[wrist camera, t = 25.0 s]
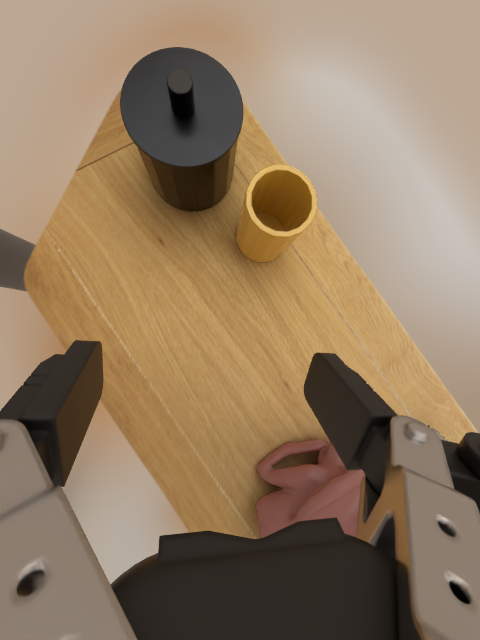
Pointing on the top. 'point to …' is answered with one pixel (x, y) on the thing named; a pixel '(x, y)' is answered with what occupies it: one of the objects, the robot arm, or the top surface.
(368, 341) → the top surface
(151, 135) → the pot lid
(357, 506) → the figurine
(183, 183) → the pot
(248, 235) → the cup
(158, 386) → the top surface
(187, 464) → the top surface
